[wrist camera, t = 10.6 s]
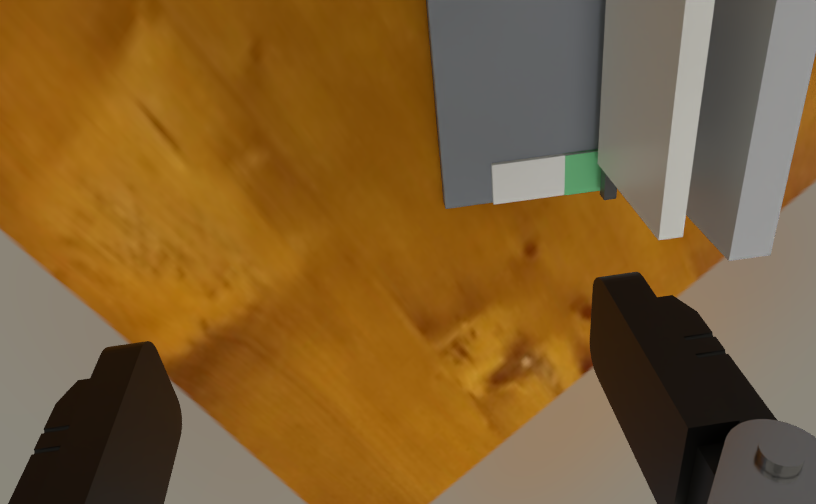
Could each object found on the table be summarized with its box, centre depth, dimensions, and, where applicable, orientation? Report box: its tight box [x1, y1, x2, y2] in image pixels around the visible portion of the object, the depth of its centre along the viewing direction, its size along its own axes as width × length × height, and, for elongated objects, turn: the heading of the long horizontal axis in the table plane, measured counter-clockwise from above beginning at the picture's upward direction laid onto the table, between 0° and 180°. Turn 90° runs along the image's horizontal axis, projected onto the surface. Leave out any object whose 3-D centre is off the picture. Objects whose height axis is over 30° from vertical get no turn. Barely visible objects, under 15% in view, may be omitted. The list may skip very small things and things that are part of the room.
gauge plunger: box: [597, 0, 715, 240], centre depth 22 cm, size 9×1×6 cm, turn 6°
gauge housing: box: [426, 0, 816, 261], centre depth 22 cm, size 11×10×8 cm
